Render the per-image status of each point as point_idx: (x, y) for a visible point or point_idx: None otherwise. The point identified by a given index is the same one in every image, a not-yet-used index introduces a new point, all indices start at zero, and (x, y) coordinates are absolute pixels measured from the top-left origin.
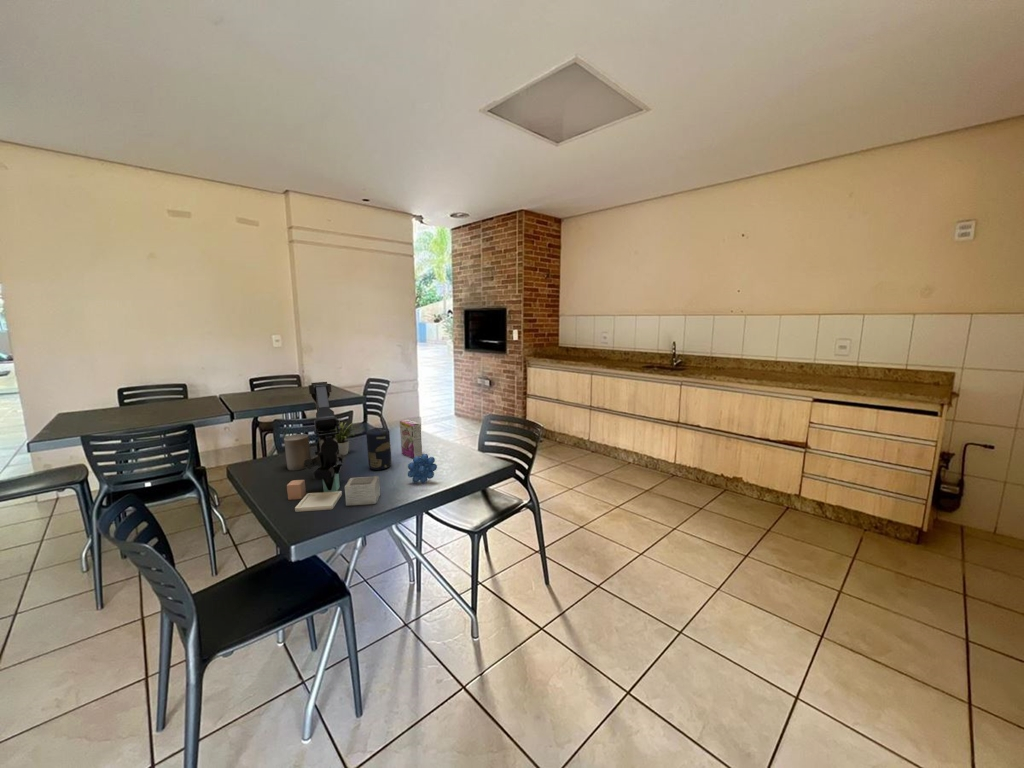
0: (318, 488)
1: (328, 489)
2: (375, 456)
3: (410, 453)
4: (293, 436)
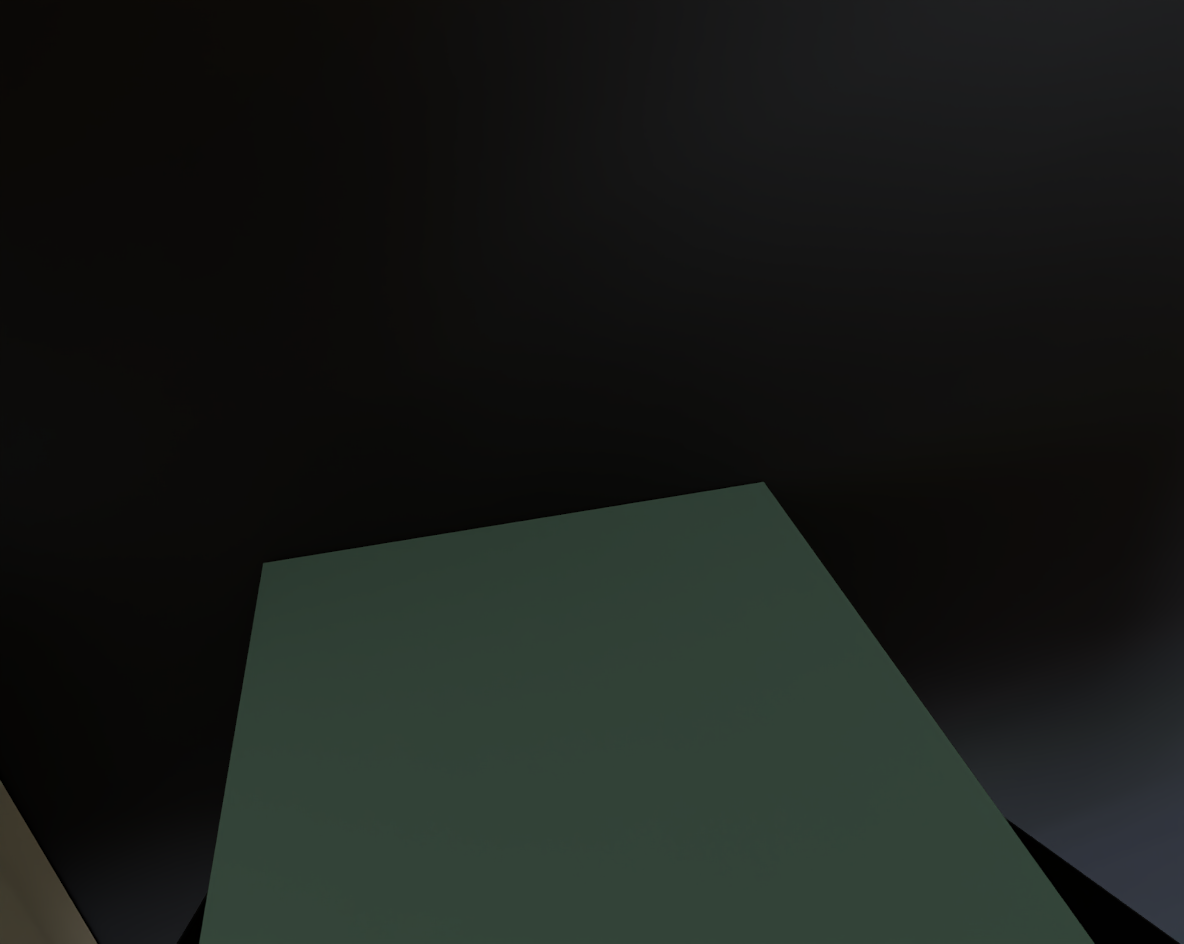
0: (811, 92)
1: None
2: None
3: None
4: None
